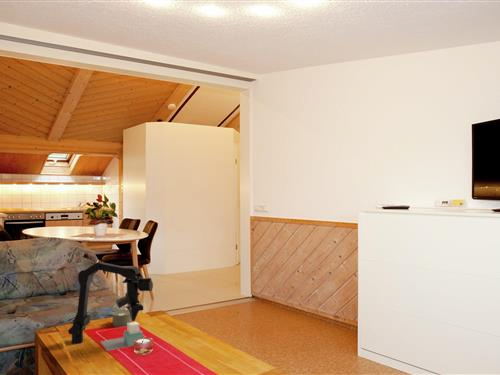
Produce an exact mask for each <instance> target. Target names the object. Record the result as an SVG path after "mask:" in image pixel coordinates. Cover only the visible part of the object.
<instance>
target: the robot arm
mask: <svg viewBox="0 0 500 375" xmlns="http://www.w3.org/2000/svg"><path fill="white" fill-rule="evenodd" d="M99 271H102V272H107V273H112V274H115V275H116V274H117V275H120V276H121V277H122V278H124V280H123V281H122V284H126V292H125V295H124V296H122V297H120V298H118V299H116V300H115V303H116V306H117V307H118V308H119V309H121V308H123V307H124V306H125V308H126V310H129V312H130V316H131V320H132V322H136V319H137V316H138V314H139V312H140V311H144V305H143V304H141V303H140V300H139V295H140V292H152V291H153V289H154V283H153V280H152V278H151V277H146V278H145V277H144V276H143V275H142V273H141V272H140V270H139V268H138V267H137V266H135V265H127V266H126V265H124V266H122V265H116V264H112V263H107V262H103V261H101V260H99V261H97V262H95V263H93V265H90V266H89V267H87V268H84V269H82V270H80V271H79V272H78V274H77V277H78V278H77V280H78V285H79V294H78V302H77V303H78V304H77V312H76V314H75V317H74V318H73V321H72V326H71V327H69V329H68V330H67V333H68V335H71V343H72V344H73V345H74V344H75V345H80V344H82V343H83V342H84V330H86V328H87V326H88V325H89V323H90V322H91V321H90V319H91V315H90V314H88V312H87V311H88V303H89V295H90V294H89V292H90V287H91V284H92V282H93V280H94V276H95V274H96V273H98V272H99ZM139 291H140V292H139Z"/></svg>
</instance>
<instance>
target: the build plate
mask: <svg viewBox="0 0 500 375" xmlns="http://www.w3.org/2000/svg"><path fill="white" fill-rule="evenodd" d="M138 339H143V340H144V332H143V331H142V330H141V329H140V328H139V333H134V334H128V333H127V330H124V331H123V336H122V337H116V338H111V339H107V340H100V343H101V345H102V346H103V348H104V349H105V351H106V352H109V351H113V350H119V349H124V348H129V347H133V346H134V341H135V340H138ZM134 347H135V346H134Z"/></svg>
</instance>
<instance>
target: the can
mask: <svg viewBox="0 0 500 375" xmlns="http://www.w3.org/2000/svg"><path fill="white" fill-rule="evenodd" d="M111 316H112V326H113V327H114V328H115V327H116V328H123V327H127V323H131V322H133V321H132V320H131V316H130V312H129V310H128V309H121V310H120V309H119V310H117V311H113V312H112V313H111Z"/></svg>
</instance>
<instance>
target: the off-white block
mask: <svg viewBox="0 0 500 375" xmlns="http://www.w3.org/2000/svg"><path fill="white" fill-rule="evenodd" d="M139 329H140V323H139V322H138V321H132V322H131V323H127V326H126V331H127V333H128V334H134V333H139Z"/></svg>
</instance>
